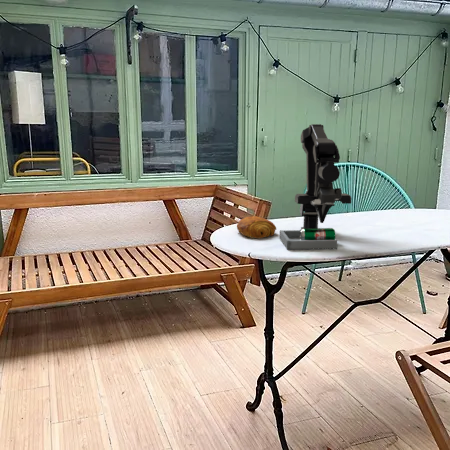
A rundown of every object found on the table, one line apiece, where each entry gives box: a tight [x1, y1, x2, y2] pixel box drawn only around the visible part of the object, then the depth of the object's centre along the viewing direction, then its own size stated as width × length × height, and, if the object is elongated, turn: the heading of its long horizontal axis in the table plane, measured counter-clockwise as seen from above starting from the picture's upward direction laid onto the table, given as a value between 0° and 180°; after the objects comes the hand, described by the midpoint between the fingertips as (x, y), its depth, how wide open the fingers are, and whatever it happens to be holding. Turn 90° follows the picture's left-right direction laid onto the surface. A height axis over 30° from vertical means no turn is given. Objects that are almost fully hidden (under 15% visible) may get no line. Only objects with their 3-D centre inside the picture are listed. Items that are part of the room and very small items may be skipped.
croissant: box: [236, 215, 277, 239], centre depth 177 cm, size 14×16×8 cm
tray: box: [278, 229, 338, 251], centre depth 163 cm, size 16×17×3 cm
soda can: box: [299, 227, 337, 240], centre depth 163 cm, size 5×5×12 cm
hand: (321, 222), depth 162 cm, fingers closed
